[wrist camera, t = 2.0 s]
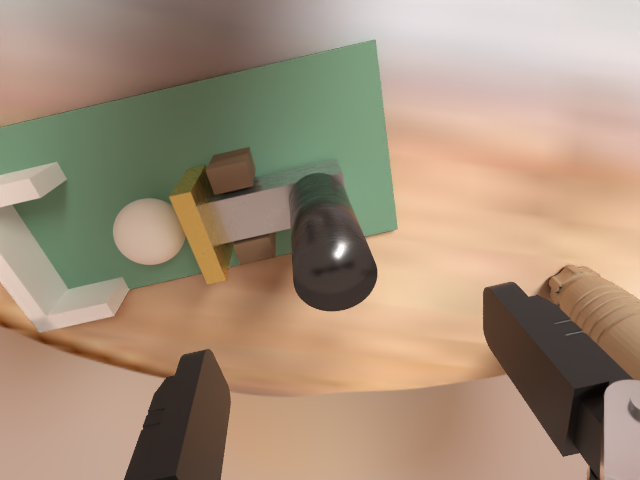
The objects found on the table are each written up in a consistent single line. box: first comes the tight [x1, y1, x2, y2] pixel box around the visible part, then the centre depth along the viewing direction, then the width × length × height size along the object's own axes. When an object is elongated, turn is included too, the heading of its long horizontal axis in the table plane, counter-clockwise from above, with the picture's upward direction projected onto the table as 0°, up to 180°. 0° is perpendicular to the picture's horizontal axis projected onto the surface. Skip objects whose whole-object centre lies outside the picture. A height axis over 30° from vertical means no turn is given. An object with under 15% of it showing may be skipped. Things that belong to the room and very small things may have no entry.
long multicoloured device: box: [169, 159, 377, 311], centre depth 18 cm, size 8×5×9 cm, turn 102°
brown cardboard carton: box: [206, 147, 276, 265], centre depth 21 cm, size 6×2×3 cm, turn 12°
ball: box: [113, 198, 186, 265], centre depth 21 cm, size 4×4×4 cm
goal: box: [0, 162, 130, 333], centre depth 21 cm, size 9×4×3 cm, turn 12°
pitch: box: [0, 40, 397, 289], centre depth 22 cm, size 11×22×1 cm, turn 102°
